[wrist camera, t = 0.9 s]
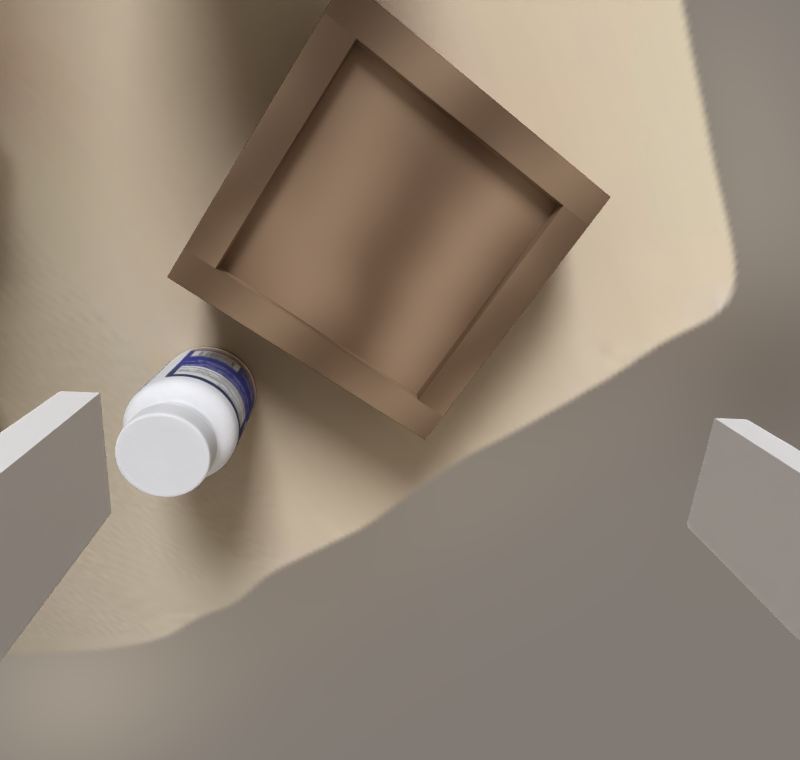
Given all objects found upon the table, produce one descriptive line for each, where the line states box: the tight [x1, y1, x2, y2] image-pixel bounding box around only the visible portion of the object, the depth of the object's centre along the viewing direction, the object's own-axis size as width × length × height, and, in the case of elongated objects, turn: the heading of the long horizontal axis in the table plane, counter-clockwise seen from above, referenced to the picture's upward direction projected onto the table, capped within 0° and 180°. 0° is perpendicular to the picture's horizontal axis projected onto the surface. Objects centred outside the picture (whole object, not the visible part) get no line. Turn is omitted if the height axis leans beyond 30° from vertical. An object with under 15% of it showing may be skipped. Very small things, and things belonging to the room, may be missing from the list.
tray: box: [168, 0, 610, 440], centre depth 28 cm, size 14×14×6 cm
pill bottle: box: [115, 347, 256, 497], centre depth 29 cm, size 5×5×9 cm
